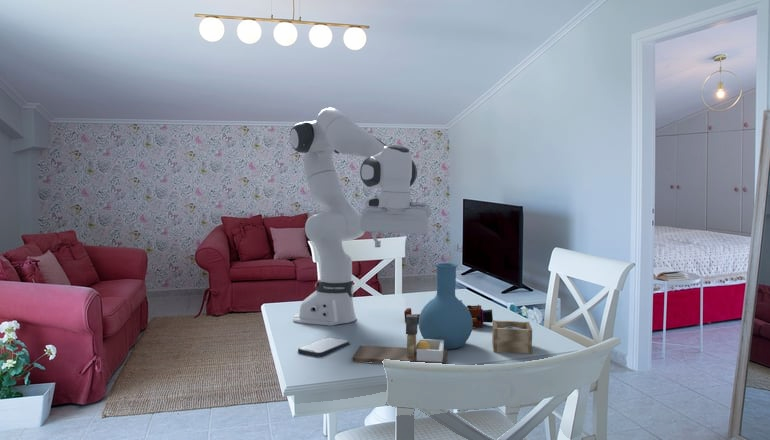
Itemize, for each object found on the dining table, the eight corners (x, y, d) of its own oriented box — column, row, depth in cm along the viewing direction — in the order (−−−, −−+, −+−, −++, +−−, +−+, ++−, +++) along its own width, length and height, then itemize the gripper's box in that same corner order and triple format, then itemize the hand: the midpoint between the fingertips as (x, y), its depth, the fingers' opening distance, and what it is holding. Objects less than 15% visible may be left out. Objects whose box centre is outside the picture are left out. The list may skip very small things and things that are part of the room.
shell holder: (493, 351, 173) (494, 328, 172) (492, 342, 183) (492, 320, 182) (531, 353, 171) (532, 330, 171) (528, 344, 181) (528, 321, 181)
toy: (412, 300, 222) (493, 297, 215) (414, 318, 222) (494, 315, 215) (397, 316, 196) (489, 313, 189) (399, 337, 197) (490, 335, 189)
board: (352, 361, 163) (352, 357, 163) (359, 349, 174) (360, 345, 174) (445, 366, 159) (445, 362, 159) (447, 353, 171) (447, 349, 171)
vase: (471, 338, 187) (472, 261, 185) (473, 354, 171) (474, 269, 169) (419, 336, 189) (420, 259, 187) (416, 351, 173) (417, 268, 171)
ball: (430, 356, 163) (415, 357, 164) (431, 352, 167) (417, 352, 168) (429, 342, 163) (415, 343, 164) (430, 338, 167) (416, 339, 168)
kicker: (405, 356, 163) (405, 318, 163) (407, 350, 169) (407, 313, 169) (415, 357, 163) (416, 318, 162) (417, 350, 169) (418, 313, 168)
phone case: (327, 341, 185) (295, 353, 171) (327, 336, 184) (295, 348, 171) (351, 346, 180) (320, 358, 166) (351, 341, 180) (320, 353, 166)
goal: (416, 360, 160) (416, 349, 160) (419, 348, 171) (420, 338, 171) (442, 361, 159) (442, 351, 159) (443, 350, 170) (444, 339, 170)
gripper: (431, 202, 172) (429, 248, 174) (363, 198, 175) (361, 244, 177) (430, 204, 166) (427, 251, 168) (359, 200, 169) (357, 247, 170)
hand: (393, 248), depth 172 cm, fingers open, 8 cm apart
